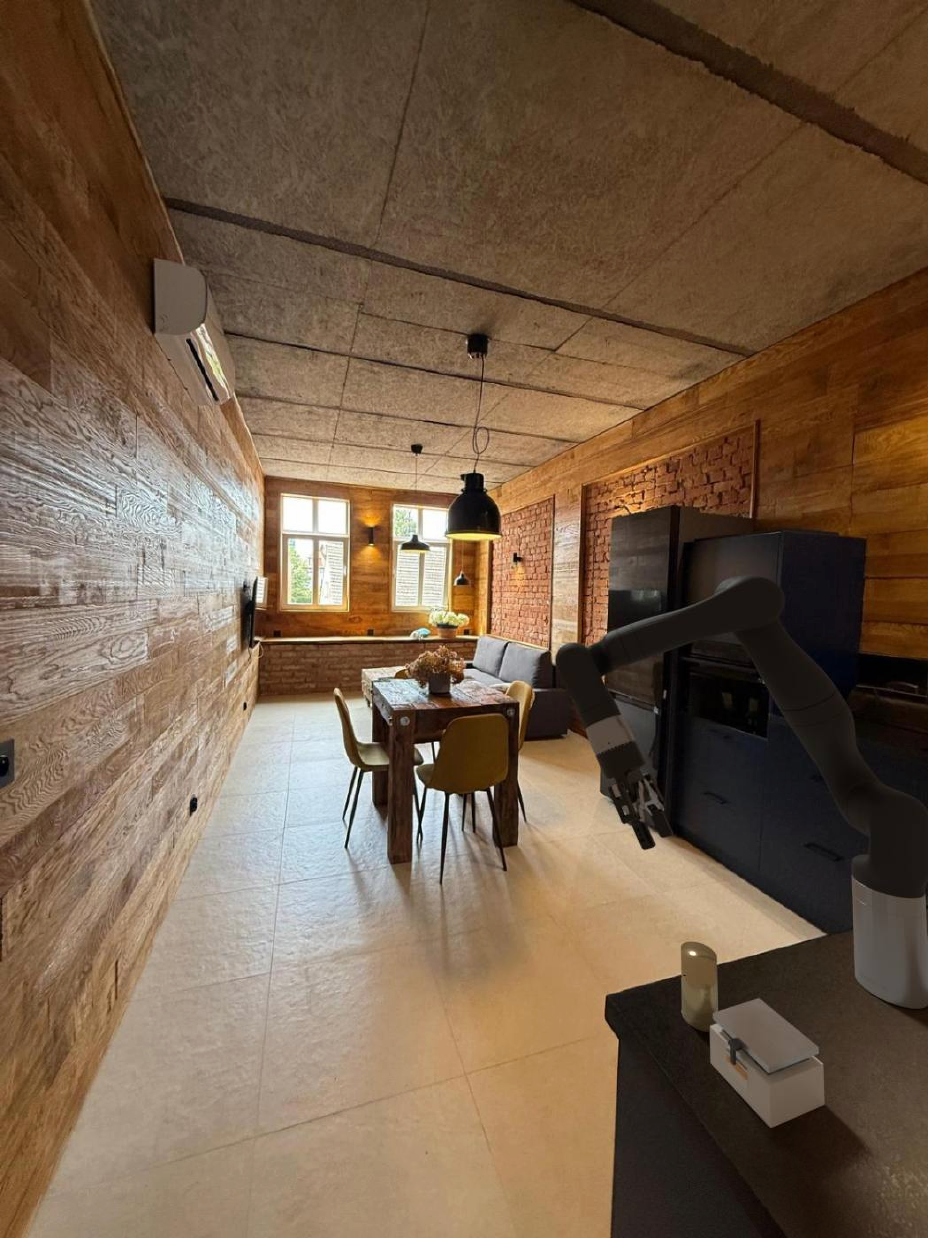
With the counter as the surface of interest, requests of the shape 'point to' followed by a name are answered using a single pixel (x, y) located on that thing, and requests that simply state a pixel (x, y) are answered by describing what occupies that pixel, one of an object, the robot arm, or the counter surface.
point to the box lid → (764, 1035)
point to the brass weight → (699, 985)
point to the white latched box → (769, 1081)
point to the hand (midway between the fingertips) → (659, 842)
